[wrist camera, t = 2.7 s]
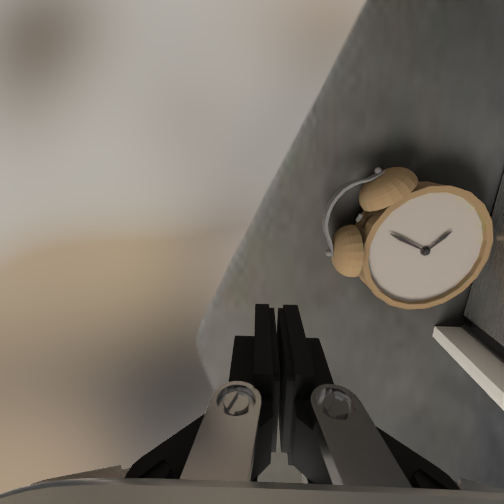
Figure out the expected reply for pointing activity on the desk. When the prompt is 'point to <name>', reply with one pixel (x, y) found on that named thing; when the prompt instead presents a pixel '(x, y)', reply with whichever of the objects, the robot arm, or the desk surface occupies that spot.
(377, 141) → the desk surface
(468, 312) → the grey t-shaped piece
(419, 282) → the alarm clock
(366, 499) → the robot arm
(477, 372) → the board
